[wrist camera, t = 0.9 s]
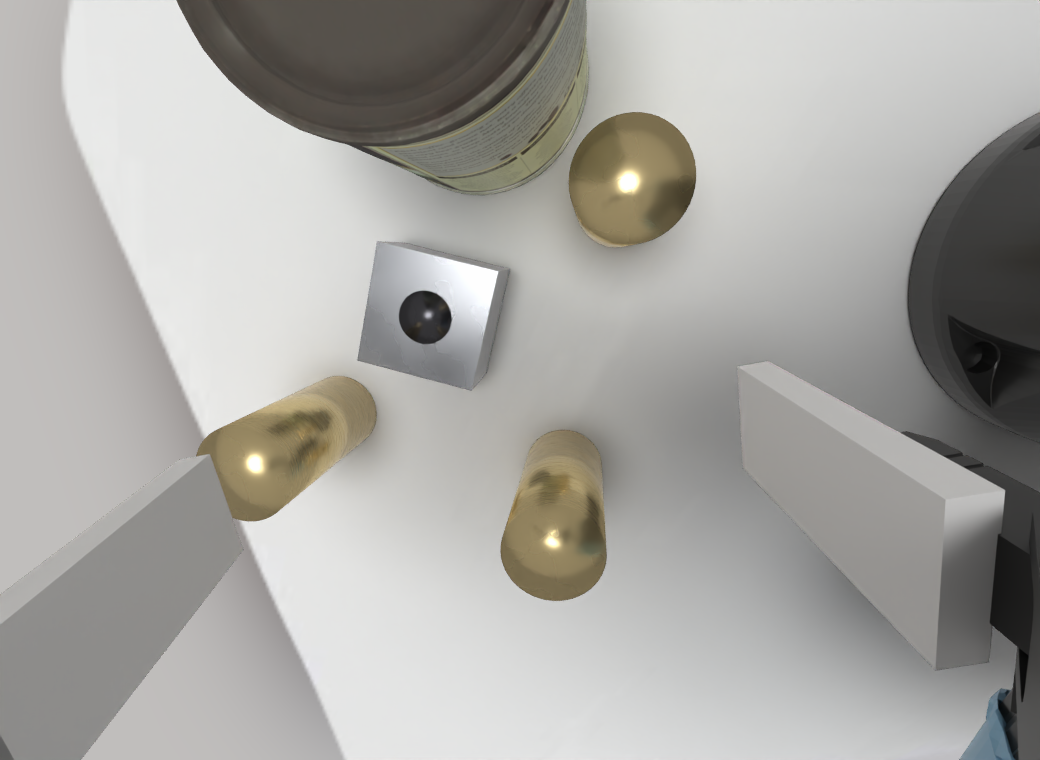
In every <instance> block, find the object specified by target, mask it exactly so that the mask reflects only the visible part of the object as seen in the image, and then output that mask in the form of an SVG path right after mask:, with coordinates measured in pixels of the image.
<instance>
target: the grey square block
mask: <svg viewBox="0 0 1040 760" xmlns="http://www.w3.org/2000/svg"><path fill="white" fill-rule="evenodd" d="M509 272H510V269H508V268H504V267H500V266H496V265H492V264H488V263H484V262H480V261H476V260H472V259H468V258H464V257H460V256H456V255H452V254H448V253H444V252H440V251H436V250H432V249H428V248H424V247H420V246H416V245H412V244H408V243H399V242H381V241H377V246H376V252H375V258H374V264H373V270H372V276H371V282H370V288H369V294H368V300H367V306H366V312H365V318H364V324H363V330H362V336H361V342H360V348H359V354H358V361H361V362H365V363H369V364H373V365H376V366H380V367H384V368H388V369H392V370H395V371H399V372H403V373H407V374H411V375H414V376H418V377H422V378H426V379H429V380H433V381H437V382H441V383H445V384H448V385H452V386H456V387H460V388H464V389H467V390H471V391H472V389H473V388H474V387H475V386H476V385H477V383H478V382H479V381H480V380H481V379H482V378H483V376H484V375H485V374H486V373H487V368H488V364H489V359H490V355H491V351H492V346H493V342H494V338H495V333H496V329H497V324H498V320H499V316H500V311H501V307H502V303H503V298H504V294H505V289H506V285H507V281H508V276H509Z"/></svg>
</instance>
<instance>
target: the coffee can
mask: <svg viewBox="0 0 1040 760" xmlns="http://www.w3.org/2000/svg"><path fill="white" fill-rule="evenodd" d="M177 3H178V5H179V7H180V9H181V11H182V13H183V14H184V16H185V18H186V20H187V22H188V24H189V26H190V28H191V30H192V31H193V33H194V35H195V36H196V38H197V40H198V41H199V43H200V45H201V46H202V48H203V50H204V51H205V52H206V53H207V55H208V56H209V57H210V58H211V60H212V61H213V62H214V63H215V65H216V66H217V67H218V68H219V69H220V70H221V72H222V73H223V74H224V75H225V76H226V77H227V78H228V80H229V81H230V82H232V83H233V84H234V85H235V86H236V87H237V88H238V89H239V90H240V91H241V92H242V93H244V94H245V95H246V96H247V97H248V98H250V99H251V100H252V101H254V102H255V103H256V104H258V105H259V106H260V107H261V108H263V109H264V110H266V111H267V112H268V113H270V114H272V115H274V116H275V117H277V118H279V119H281V120H282V121H284V122H286V123H288V124H290V125H292V126H294V127H296V128H298V129H299V130H302V131H305V132H308V133H310V134H313V135H316V136H319V137H322V138H325V139H328V140H332V141H336V142H340V143H345V144H348V145H350V146H352V147H354V148H357V149H359V150H361V151H363V152H365V153H368V154H370V155H373V156H375V157H377V158H380V159H382V160H385V161H387V162H389V163H392V164H394V165H396V166H399V167H401V168H403V169H406V170H408V171H410V172H412V173H414V174H416V175H418V176H420V177H423V178H425V179H427V180H428V181H430V182H432V183H434V184H435V185H438V186H440V187H443V188H445V189H448V190H451V191H454V192H459V193H462V194H470V195H485V194H494V193H500V192H503V191H507V190H511V189H513V188H515V187H518V186H520V185H523V184H524V183H526V182H528V181H530V180H532V179H533V178H535V177H536V176H538V175H539V174H541V173H542V172H543V171H545V170H546V169H547V168H548V167H549V166H550V165H551V164H552V163H553V162H554V161H555V159H556V158H557V157H558V156H559V155H560V154H561V153H562V151H563V150H564V148H565V147H566V145H567V144H568V142H569V141H570V139H571V138H572V136H573V134H574V132H575V130H576V128H577V125H578V123H579V120H580V118H581V115H582V112H583V108H584V104H585V100H586V96H587V92H588V73H589V66H588V55H587V48H586V14H587V13H586V0H177Z"/></svg>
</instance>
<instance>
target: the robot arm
mask: <svg viewBox="0 0 1040 760" xmlns="http://www.w3.org/2000/svg"><path fill="white" fill-rule="evenodd" d="M909 311H910V320H911V325H912V330H913V334H914V338H915V341H916V344H917V347H918V349H919V352H920V354H921V356H922V358H923V360H924V362H925V364H926V366H927V368H928V369H929V371H930V373H931V374H932V375H933V377H934V378H935V380H936V381H937V382H938V383H939V385H940V386H941V387H942V388H943V389H944V390H945V391H946V392H947V393H948V394H949V395H950V396H951V397H952V398H953V399H954V400H955V401H956V402H958V403H959V404H960V405H961V406H963V407H964V408H965V409H967V410H968V411H970V412H971V413H973V414H975V415H976V416H978V417H980V418H982V419H984V420H986V421H988V422H990V423H992V424H994V425H997V426H999V427H1001V428H1004V429H1006V430H1009V431H1011V432H1013V433H1016V434H1018V435H1020V436H1023V437H1026V438H1028V439H1031V440H1033V441H1037V442H1040V113H1038V114H1036V115H1034V116H1032V117H1030V118H1029V119H1027V120H1025V121H1023V122H1021V123H1020V124H1018V125H1017V126H1015V127H1013V128H1012V129H1010V130H1009V131H1007V132H1006V133H1004V134H1003V135H1002V136H1000V137H999V138H997V139H996V140H995V141H994V142H992V143H991V144H990V145H989V146H987V147H986V148H985V149H984V150H983V151H982V152H980V153H979V154H978V155H977V156H976V157H975V158H974V159H973V160H972V161H971V162H970V163H969V164H968V165H967V166H966V167H965V168H964V169H963V170H962V171H961V173H960V174H959V175H958V176H957V177H956V178H955V180H954V181H953V182H952V183H951V185H950V186H949V187H948V189H947V190H946V191H945V193H944V194H943V196H942V197H941V199H940V200H939V202H938V204H937V205H936V207H935V208H934V210H933V212H932V214H931V216H930V218H929V219H928V222H927V224H926V226H925V228H924V230H923V232H922V235H921V238H920V240H919V243H918V246H917V249H916V253H915V256H914V260H913V265H912V269H911V276H910V284H909ZM737 373H738V391H739V409H740V427H741V445H742V463H743V469H744V470H745V471H746V472H747V473H748V474H749V475H750V476H751V478H752V479H753V480H754V481H755V482H756V483H757V484H758V485H759V486H760V487H761V488H762V489H763V490H764V491H765V492H766V493H767V494H768V495H769V496H770V497H771V499H772V500H773V501H774V502H775V503H776V504H777V505H778V506H779V507H780V508H781V509H782V510H783V511H784V512H785V513H786V514H787V515H788V516H789V517H790V518H791V520H792V521H793V522H794V523H795V524H796V525H797V526H798V527H799V528H800V529H801V530H802V531H803V532H804V533H805V534H806V535H807V536H808V537H809V538H810V539H811V541H812V542H813V543H814V544H815V545H816V546H817V547H818V548H819V549H820V550H821V551H822V552H823V553H824V554H825V555H826V556H827V557H828V558H829V559H830V560H831V562H832V563H833V564H834V565H835V566H836V567H837V568H838V569H839V570H840V571H841V572H842V573H843V574H844V575H845V576H846V577H847V578H848V579H849V580H850V581H851V583H852V584H853V585H854V586H855V587H856V588H857V589H858V590H859V591H860V592H861V593H862V594H863V595H864V596H865V597H866V598H867V599H868V600H869V601H870V602H871V604H872V605H873V606H874V607H875V608H876V609H877V610H878V611H879V612H880V613H881V614H882V615H883V616H884V617H885V618H886V619H887V620H888V621H889V622H890V623H891V625H892V626H893V627H894V628H895V629H896V630H897V631H898V632H899V633H900V634H901V635H902V636H903V637H904V638H905V639H906V640H907V641H908V642H909V643H910V644H911V646H912V647H913V648H914V649H915V650H916V651H917V652H918V653H919V654H920V655H921V656H922V657H923V658H924V659H925V660H926V661H927V662H928V663H929V664H930V665H931V667H932V668H933V669H934V670H942V669H948V668H954V667H961V666H967V665H974V664H980V663H987V662H989V657H990V646H991V636H992V626H994V627H995V628H996V629H997V630H998V631H1000V632H1001V633H1002V634H1003V635H1004V636H1005V637H1007V638H1008V639H1009V640H1010V641H1011V642H1013V643H1014V644H1015V645H1016V646H1017V647H1018V648H1017V657H1016V666H1015V675H1014V683H1013V689H1012V690H1006V689H1000V690H999V691H998V692H996V693H995V694H994V695H993V696H992V697H991V698H990V699H989V704H988V709H987V716H986V721H985V723H984V724H983V726H982V727H981V729H980V730H979V732H978V733H977V735H976V736H975V737H974V739H973V740H972V742H971V743H970V745H969V746H968V748H967V749H966V750H965V752H964V753H963V755H962V756H961V758H960V759H959V760H1040V492H1038V491H1036V490H1034V489H1032V488H1030V487H1028V486H1026V485H1024V484H1022V483H1020V482H1018V481H1016V480H1014V479H1012V478H1010V477H1008V476H1006V475H1005V474H1003V473H1001V472H999V471H997V470H995V469H993V468H991V467H989V466H985V467H984V466H983V463H981V462H979V461H977V460H975V459H973V458H972V457H970V456H968V455H966V456H963V454H962V452H960V451H958V450H956V449H954V448H952V447H950V446H948V445H946V444H944V443H942V442H940V441H939V440H935V439H932V438H928V437H925V436H921V435H917V434H914V433H910V432H907V431H906V432H898V431H896V430H894V429H892V428H890V427H889V426H887V425H885V424H883V423H881V422H879V421H878V420H876V419H874V418H872V417H870V416H868V415H867V414H865V413H863V412H861V411H859V410H857V409H856V408H854V407H852V406H850V405H848V404H846V403H845V402H843V401H841V400H839V399H837V398H835V397H834V396H832V395H830V394H828V393H826V392H824V391H823V390H821V389H819V388H817V387H815V386H813V385H812V384H810V383H808V382H806V381H804V380H802V379H801V378H799V377H797V376H795V375H793V374H791V373H790V372H788V371H786V370H784V369H782V368H780V367H779V366H777V365H775V364H773V363H771V362H769V361H766V362H760V363H754V364H748V365H742V366H737ZM243 550H244V549H243V546H242V544H241V541H240V538H239V535H238V532H237V530H236V527H235V524H234V521H233V518H232V515H231V512H230V510H229V507H228V504H227V501H226V498H225V496H224V493H223V490H222V487H221V484H220V481H219V479H218V476H217V473H216V470H215V467H214V464H213V462H212V459H211V456H210V454H208V455H202V456H196V457H190V458H184V459H179V460H178V461H176V463H174V464H173V465H171V466H170V467H169V468H167V469H166V470H165V471H163V472H162V473H161V474H159V475H158V476H157V477H155V478H154V479H153V480H151V481H150V482H149V483H147V484H146V485H145V486H143V487H142V488H141V489H139V490H138V491H137V492H135V493H134V494H133V495H131V496H130V497H129V498H128V499H126V500H125V501H124V502H122V503H121V504H119V505H118V506H117V507H115V508H114V509H113V510H111V511H110V512H109V513H107V514H106V515H105V516H103V517H102V518H101V519H99V520H98V521H97V522H95V523H94V524H93V525H92V526H90V527H89V528H88V529H86V530H85V531H84V532H82V533H81V534H80V535H78V536H77V537H76V538H74V539H73V540H72V541H70V542H69V543H68V544H66V545H65V546H64V547H62V548H61V549H60V550H58V551H57V552H56V553H54V554H53V555H52V556H50V557H49V558H48V559H46V560H45V561H44V562H42V563H41V564H40V565H38V566H37V567H36V568H34V569H33V570H32V571H30V572H29V573H28V574H27V575H25V576H24V577H22V578H21V579H20V580H19V581H17V582H16V583H14V584H13V585H12V586H11V587H9V588H8V589H7V590H5V591H4V592H3V593H1V594H0V760H81V759H82V758H83V757H84V755H85V754H86V753H87V751H88V750H89V749H90V747H91V746H92V745H93V744H94V742H95V741H96V740H97V738H98V737H99V736H100V735H101V733H102V732H103V731H104V729H105V728H106V727H107V726H108V724H109V723H110V722H111V720H112V719H113V718H114V717H115V715H116V714H117V713H118V711H119V710H120V709H121V707H122V706H123V705H124V704H125V702H126V701H127V700H128V699H129V697H130V696H131V695H132V693H133V692H134V691H135V690H136V688H137V687H138V686H139V684H140V683H141V682H142V680H143V679H144V678H145V677H146V675H147V674H148V673H149V671H150V670H151V669H152V668H153V666H154V665H155V664H156V662H157V661H158V660H159V659H160V657H161V656H162V655H163V653H164V652H165V651H166V650H167V648H168V647H169V646H170V644H171V643H172V642H173V640H174V639H175V638H176V637H177V635H178V634H179V633H180V631H181V630H182V629H183V628H184V626H185V625H186V623H187V622H188V621H189V620H190V619H191V617H192V616H193V614H194V613H195V612H196V611H197V610H198V608H199V607H200V606H201V604H202V603H203V602H204V601H205V599H206V598H207V597H208V595H209V594H210V593H211V591H212V590H213V589H214V588H215V586H216V585H217V584H218V582H219V581H220V580H221V579H222V577H223V576H224V575H225V573H226V572H227V570H228V569H229V568H230V567H231V566H232V564H233V563H234V561H235V560H236V559H237V558H238V557H239V555H240V554H241V553H242V551H243Z"/></svg>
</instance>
